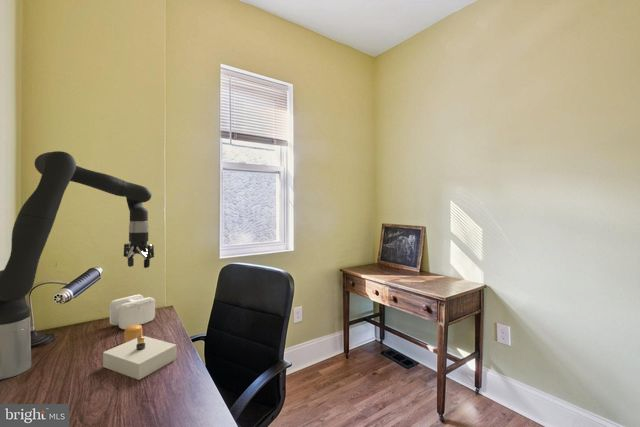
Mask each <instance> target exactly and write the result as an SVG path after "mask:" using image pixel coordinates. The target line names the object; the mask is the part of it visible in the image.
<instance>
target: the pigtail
mask: <svg viewBox="0 0 640 427" xmlns="http://www.w3.org/2000/svg"><path fill="white" fill-rule="evenodd" d="M144 336H145V335H142V336H139V337H137V345H136V350H143V349H145V343H144Z"/></svg>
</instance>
